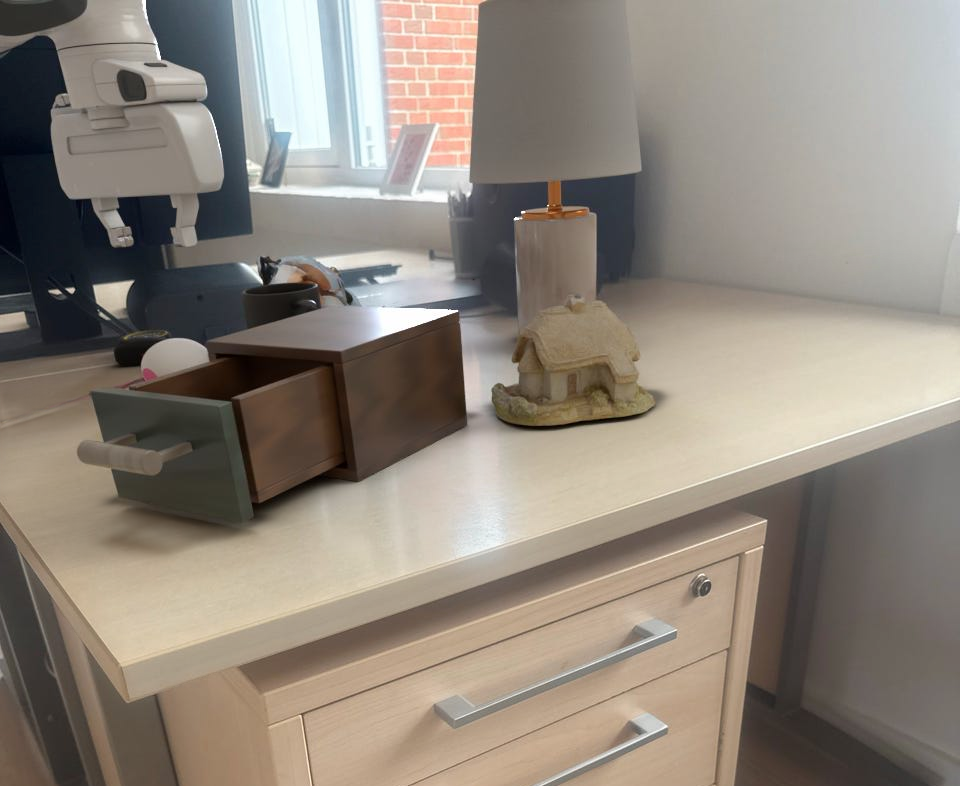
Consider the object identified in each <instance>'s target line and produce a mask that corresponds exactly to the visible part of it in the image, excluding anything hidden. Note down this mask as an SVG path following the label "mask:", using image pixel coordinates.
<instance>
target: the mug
mask: <svg viewBox="0 0 960 786" xmlns="http://www.w3.org/2000/svg"><path fill="white" fill-rule="evenodd" d="M240 297H241V302H242V303H241V304H242V307H243V313H244V319H245V322H246V327H247V329H251V328H254V327H258V326H262V325H265V324H269V323H272V322H276V321H279V320H283V319H286V318H290V317H294V316H297V315H301V314H304V313H308V312H311V311H315V310H318V309H321V301H320V294H319V287H318V285H317V284H314V283H305V282H294V283H279V284H270V285H263V284H262V285H258V286H252V287H248V288H247V289H243V290H242V291H241V292H240Z"/></svg>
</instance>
